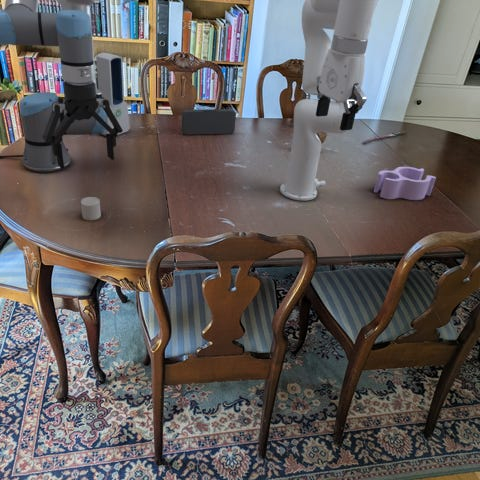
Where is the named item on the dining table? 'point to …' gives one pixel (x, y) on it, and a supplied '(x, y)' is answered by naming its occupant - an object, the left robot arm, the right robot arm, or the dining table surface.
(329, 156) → the dining table surface
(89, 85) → the left robot arm
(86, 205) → the grey solid cylinder
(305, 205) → the dining table surface
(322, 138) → the lion figurine
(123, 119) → the electronic device
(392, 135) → the sword
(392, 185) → the clip
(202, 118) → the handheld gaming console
